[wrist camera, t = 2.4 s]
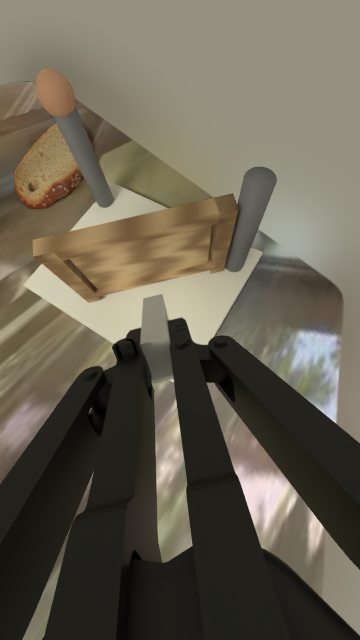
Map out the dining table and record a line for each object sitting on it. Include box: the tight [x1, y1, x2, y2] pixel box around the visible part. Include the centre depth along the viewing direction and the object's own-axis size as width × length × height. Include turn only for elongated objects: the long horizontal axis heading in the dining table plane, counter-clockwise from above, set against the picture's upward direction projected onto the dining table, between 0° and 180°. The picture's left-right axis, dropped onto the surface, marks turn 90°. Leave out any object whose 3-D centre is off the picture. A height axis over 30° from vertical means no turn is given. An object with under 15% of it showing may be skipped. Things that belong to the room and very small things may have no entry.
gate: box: [33, 194, 239, 303], centre depth 29 cm, size 21×2×12 cm, turn 103°
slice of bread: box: [14, 123, 92, 209], centre depth 44 cm, size 18×18×4 cm
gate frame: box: [24, 68, 277, 383], centre depth 28 cm, size 30×24×18 cm
